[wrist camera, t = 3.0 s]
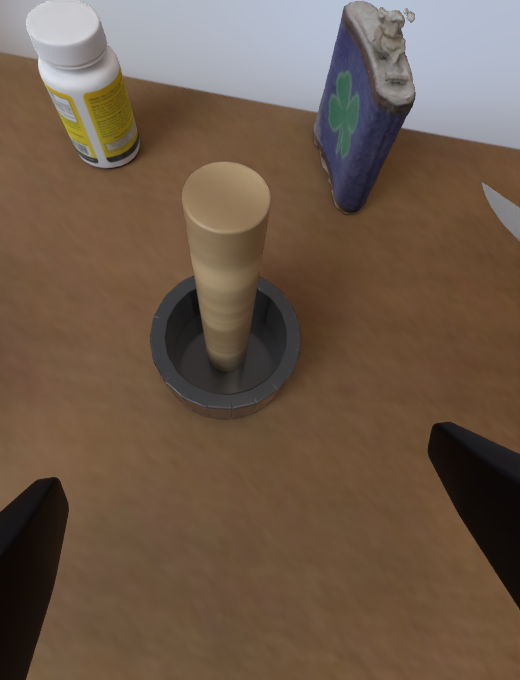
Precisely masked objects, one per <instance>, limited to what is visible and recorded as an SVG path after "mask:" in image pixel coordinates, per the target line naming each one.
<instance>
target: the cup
mask: <svg viewBox="0 0 520 680" xmlns="http://www.w3.org/2000/svg"><path fill="white" fill-rule="evenodd" d="M300 338H301V331H300V326H299V323H298V320H297V317H296V313H295V310H294V308H293V307H292V305H291V304H290V303H289V301H288V300H287V298H286V297H285V296H284V294H283V293H282V292H281V291H280V290H279V289H278V288H276V287H275V286H274V285H272V284H271V283H270V282H268V281H267V280H266V279H264V278H262V277H260V276H259V279H258V286H257V292H256V298H255V304H254V310H253V316H252V322H251V329H250V335H249V341H248V347H247V353H246V358H245V361H244V363H243V364H242V366H241V367H239V368H238V369H237V370H234V371H231V372H222V371H219V370H217V369H215V368H214V367H213V366H212V365H211V363H210V362H209V359H208V355H207V349H206V343H205V337H204V331H203V325H202V319H201V313H200V307H199V301H198V295H197V289H196V283H195V277H194V276H192V277H190V278H188V279H186V280H184V281H182V282H181V283H179V284H178V285H177V286H176V287H175V288H174V289H173V290H172V291H170V292H169V293H168V294H167V295H166V296H165V298H164V299H163V301H162V302H161V304H160V306H159V308H158V310H157V312H156V313H155V315H154V318H153V323H152V329H151V334H150V344H151V350H152V356H153V360H154V363H155V365H156V367H157V369H158V371H159V372H160V374H161V376H162V378H163V379H164V381H165V383H166V384H167V386H168V387H169V388H170V390H171V391H172V393H173V394H174V395H175V397H177V398H178V399H179V400H180V401H181V402H182V403H183V404H184V405H185V406H186V407H188V408H189V409H191V410H192V411H194V412H196V413H198V414H200V415H203V416H206V417H209V418H214V419H224V420H228V419H237V418H242V417H245V416H248V415H251V414H253V413H255V412H257V411H259V410H261V409H262V408H264V407H265V406H266V405H268V404H269V403H270V402H271V401H272V400H273V399H274V398H275V396H276V395H277V394H278V393H279V391H280V390H281V389H282V388H283V386H284V385H285V383H286V382H287V380H288V379H289V377H290V375H291V374H292V372H293V370H294V367H295V365H296V362H297V359H298V357H299V354H300Z"/></svg>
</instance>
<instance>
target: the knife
mask: <svg viewBox="0 0 520 680" xmlns="http://www.w3.org/2000/svg"><path fill="white" fill-rule="evenodd" d="M482 184H483V189H484V193H485V195H486V198H487V200H488V202H489V204H490V205H491V207H492V209H493V210H494V212H495V213H496V215H497V216H498V218H499V219H500V221H501V222H502V224H503V225H504V226H505V227H506V228H507V229H508V230H509V231H510V232H511V233H512V234H513V235H514V236H515V237H516V238H517V239H518V240H519V241H520V208H519V207H518V206H516V205H515V204H513V203H512V202H510V201H509V200H507V199H506V198H504V197H503V196H502V195H500V194H499V193H497V192H496V191H494V190H493V189H491V188H490V187H489V186H487V185H486V184H484V183H482Z"/></svg>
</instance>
